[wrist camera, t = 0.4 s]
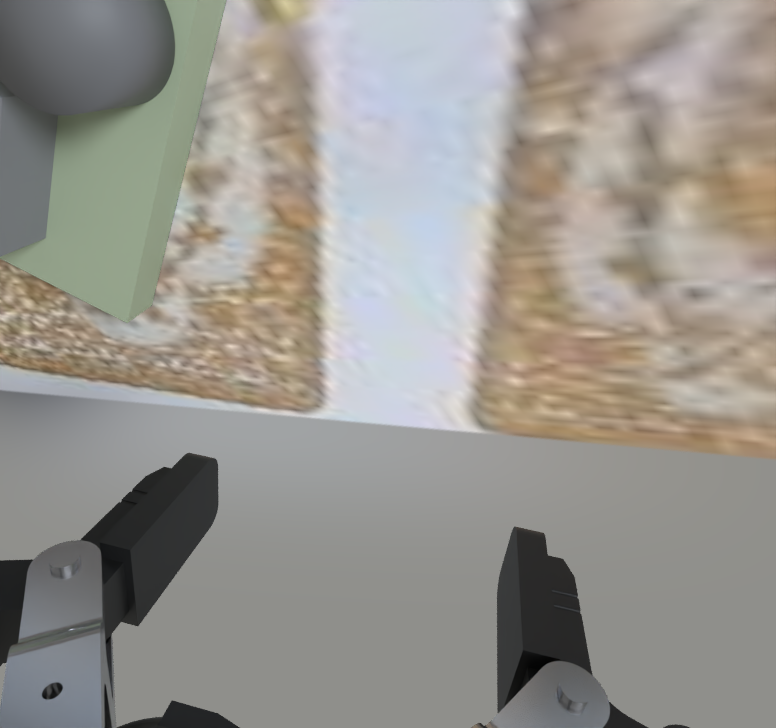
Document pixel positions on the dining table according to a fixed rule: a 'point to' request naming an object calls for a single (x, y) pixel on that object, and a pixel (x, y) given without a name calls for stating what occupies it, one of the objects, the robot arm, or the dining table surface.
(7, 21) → the green panel with knob
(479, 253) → the dining table surface
